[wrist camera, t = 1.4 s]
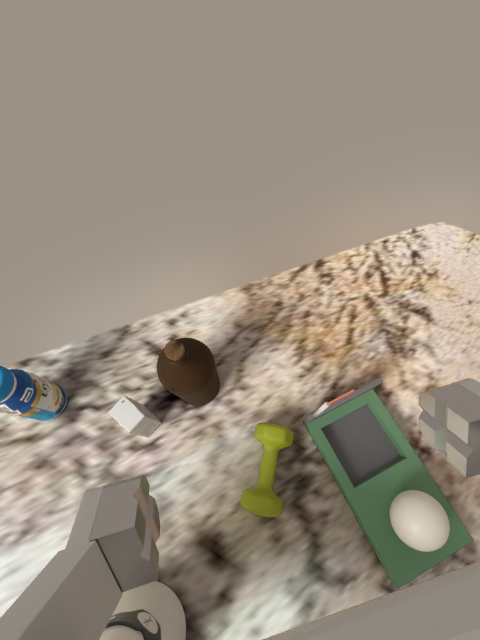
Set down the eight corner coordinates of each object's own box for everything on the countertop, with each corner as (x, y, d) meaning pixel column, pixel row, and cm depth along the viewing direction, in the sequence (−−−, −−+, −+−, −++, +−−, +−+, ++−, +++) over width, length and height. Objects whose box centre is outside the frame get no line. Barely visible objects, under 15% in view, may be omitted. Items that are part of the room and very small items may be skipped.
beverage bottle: (24, 405, 75) (-51, 385, 57) (53, 376, 78) (-9, 349, 59) (46, 430, 73) (-25, 417, 54) (76, 400, 75) (18, 378, 57)
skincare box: (129, 420, 73) (106, 411, 62) (143, 404, 74) (123, 394, 63) (148, 438, 71) (128, 433, 60) (162, 422, 72) (145, 414, 61)
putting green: (463, 536, 61) (558, 568, 42) (391, 582, 59) (456, 638, 40) (365, 387, 73) (404, 359, 54) (302, 421, 71) (319, 404, 52)
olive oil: (225, 404, 73) (211, 375, 50) (178, 412, 73) (142, 388, 50) (218, 358, 77) (202, 313, 55) (174, 366, 77) (139, 324, 54)
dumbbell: (257, 422, 71) (257, 417, 65) (293, 431, 70) (297, 427, 64) (239, 506, 65) (237, 511, 59) (279, 518, 64) (281, 523, 58)
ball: (422, 557, 58) (449, 572, 50) (373, 523, 60) (392, 532, 52) (440, 508, 61) (469, 515, 53) (394, 478, 63) (414, 479, 55)
